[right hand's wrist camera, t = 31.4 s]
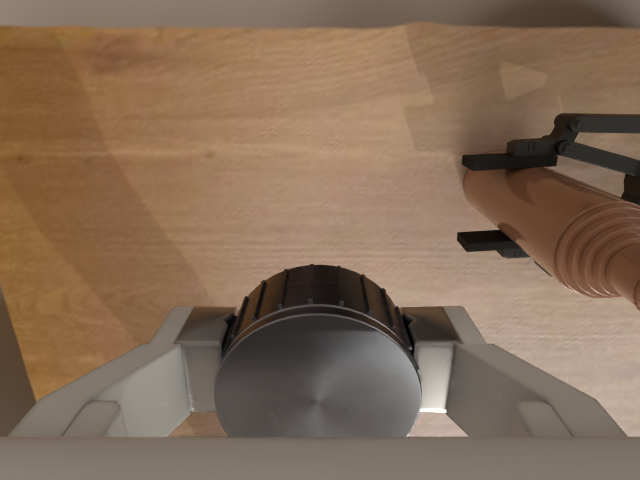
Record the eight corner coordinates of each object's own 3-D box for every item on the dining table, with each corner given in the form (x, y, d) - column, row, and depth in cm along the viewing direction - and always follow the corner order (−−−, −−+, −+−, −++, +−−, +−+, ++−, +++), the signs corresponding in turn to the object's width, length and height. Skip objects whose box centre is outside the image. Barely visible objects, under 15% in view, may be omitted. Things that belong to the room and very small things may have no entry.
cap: (197, 310, 10) (167, 368, 8) (357, 230, 9) (367, 274, 7) (286, 428, 11) (279, 502, 9) (432, 368, 10) (457, 435, 8)
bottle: (493, 137, 39) (688, 208, 18) (540, 173, 41) (772, 281, 19) (450, 188, 41) (580, 308, 20) (495, 222, 43) (663, 368, 21)
